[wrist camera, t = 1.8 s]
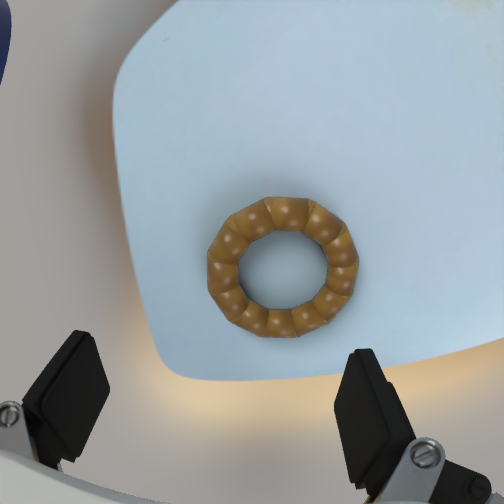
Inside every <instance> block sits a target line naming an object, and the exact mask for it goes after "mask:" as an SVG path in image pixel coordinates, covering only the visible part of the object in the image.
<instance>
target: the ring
mask: <svg viewBox="0 0 504 504" xmlns="http://www.w3.org/2000/svg"><path fill="white" fill-rule="evenodd" d="M273 231H295V232H302V233H303V234H305V235H307V236H308V237H310V238H311V239H313V240H314V241H316V242H317V243H319V244H320V245H321V247H322V250H323V252H324V254H325V256H326V258H327V261H328V269H327V276H326V282H325V284H324V285H323V287H322V288H321V289H320V290H319V292H318V293H317V294H316V295H315V297H314V298H313V299H312V300H311V301H308V302H306V303H304V304H302V305H300V306H298V307H295V308H293V309H291V310H287V309H267V308H265V307H263V306H261V305H259V304H257V303H255V302H254V301H252V300H250V299H249V298H248V297H247V295H246V294H245V292H244V290H243V289H242V287H241V285H240V284H239V282H238V272H239V260H240V259H241V257H242V256H243V254H244V253H245V251H246V250H247V248H248V247H249V245H250V244H251V242H253V241H255V240H257V239H259V238H261V237H263V236H265V235H267V234H269V233H271V232H273ZM358 265H359V256H358V253H357V251H356V248H355V246H354V243H353V240H352V238H351V235H350V233H349V231H348V228H347V226H346V224H345V223H344V222H343V221H342V220H341V219H339V218H338V217H336V216H335V215H334V214H332V213H331V212H329V211H328V210H326V209H325V208H324V207H322V206H321V205H319V204H318V203H316V202H315V201H313V200H310V199H302V198H284V197H267V198H264V199H262V200H260V201H258V202H256V203H254V204H252V205H250V206H248V207H246V208H244V209H242V210H240V211H239V212H237V213H235V214H233V215H231V216H230V217H229V218H228V219H227V220H226V222H225V223H224V225H223V226H222V228H221V230H220V231H219V233H218V234H217V236H216V238H215V239H214V241H213V243H212V244H211V246H210V248H209V249H208V252H207V285H208V291H209V293H210V295H211V297H212V298H213V299H214V301H215V302H216V304H217V305H218V307H219V308H220V310H221V311H222V313H223V314H224V316H225V317H226V318H227V320H228V321H229V322H231V323H233V324H235V325H237V326H239V327H241V328H243V329H245V330H247V331H249V332H251V333H253V334H255V335H257V336H259V337H272V338H295V337H299V336H301V335H304V334H306V333H308V332H310V331H313V330H315V329H317V328H319V327H322V326H324V325H326V324H328V323H329V322H330V321H331V320H332V319H333V318H334V317H335V316H336V315H337V313H338V312H339V311H340V310H341V309H342V307H343V306H344V305H345V304H346V303H347V301H348V300H349V299H350V298H351V296H352V294H353V291H354V286H355V281H356V276H357V271H358Z"/></svg>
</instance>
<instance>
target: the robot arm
mask: <svg viewBox="0 0 504 504" xmlns="http://www.w3.org/2000/svg"><path fill="white" fill-rule="evenodd" d="M109 392H110V386H109V383H108V380H107V377H106V374H105V371H104V368H103V366H102V362H101V359H100V356H99V353H98V350H97V347H96V343H95V340H94V338H93V337H92V336H91V335H90V333H88V332H85V331H79V330H75V331H73V332H72V334H71V335H70V336H69V337H68V339H67V340H66V341H65V342H64V344H63V345H62V346H61V347H60V349H59V350H58V351H57V353H56V354H55V355H54V356H53V358H52V359H51V360H50V362H49V363H48V364H47V366H46V367H45V368H44V370H43V371H42V373H41V374H40V375H39V377H38V378H37V379H36V381H35V382H34V383H33V385H32V386H31V388H30V389H29V390H28V392H27V393H26V395H25V396H24V398H23V399H22V401H23V404H22V405H20V404H19V403H17V402H15V401H5V402H3V403H1V404H0V504H169V503H163V502H159V501H154V500H149V499H145V498H140V497H136V496H132V495H128V494H125V493H121V492H117V491H114V490H110V489H107V488H104V487H101V486H97V485H95V484H91V483H89V482H86V481H83V480H80V479H77V478H75V477H72V476H70V475H67V474H64V473H63V471H62V468H61V465H60V461H61V459H62V458H63V459H65V460H67V461H70V462H73V463H74V462H75V459H76V457H79V456H80V455H81V453H82V451H83V449H84V447H85V444H86V442H87V440H88V438H89V435H90V433H91V431H92V429H93V427H94V425H95V422H96V420H97V418H98V416H99V414H100V412H101V410H102V408H103V405H104V404H105V401H106V399H107V397H108V395H109ZM334 412H335V415H336V420H337V425H338V429H339V433H340V438H341V442H342V446H343V451H344V456H345V461H346V465H347V470H348V475H349V479H350V482H351V483H355V487H356V489H363V488H366V491H367V494H368V495H369V496H368V498H367V499H366V501H365V502H364V503H363V504H504V498H503V497H502V496H501V495H500V494H498V493H497V492H496V493H495V494H493V493H492V492H491V491H492V490H491V484H490V481H489V480H488V479H487V477H486V476H484V475H482V474H480V473H477V472H475V471H472V470H470V469H467V468H465V467H462V466H460V465H457V464H455V463H453V462H450V461H448V460H446V459H445V451H444V449H443V447H442V445H441V444H439V442H437V441H436V440H434V439H431V438H427V437H425V438H418V439H416V436H415V434H414V432H413V429H412V427H411V424H410V422H409V420H408V417H407V415H406V413H405V410H404V408H403V406H402V404H401V401H400V400H399V397H398V395H397V393H396V390H395V388H394V386H393V384H392V383H391V382H387V380H386V378H385V376H384V374H383V372H382V369H381V367H380V365H379V363H378V361H377V358H376V356H375V354H374V352H373V350H372V349H370V348H369V349H356V350H355V351H354V353H351V354H350V355H349V357H348V361H347V364H346V368H345V371H344V374H343V377H342V381H341V384H340V387H339V390H338V393H337V396H336V399H335V402H334Z"/></svg>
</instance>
